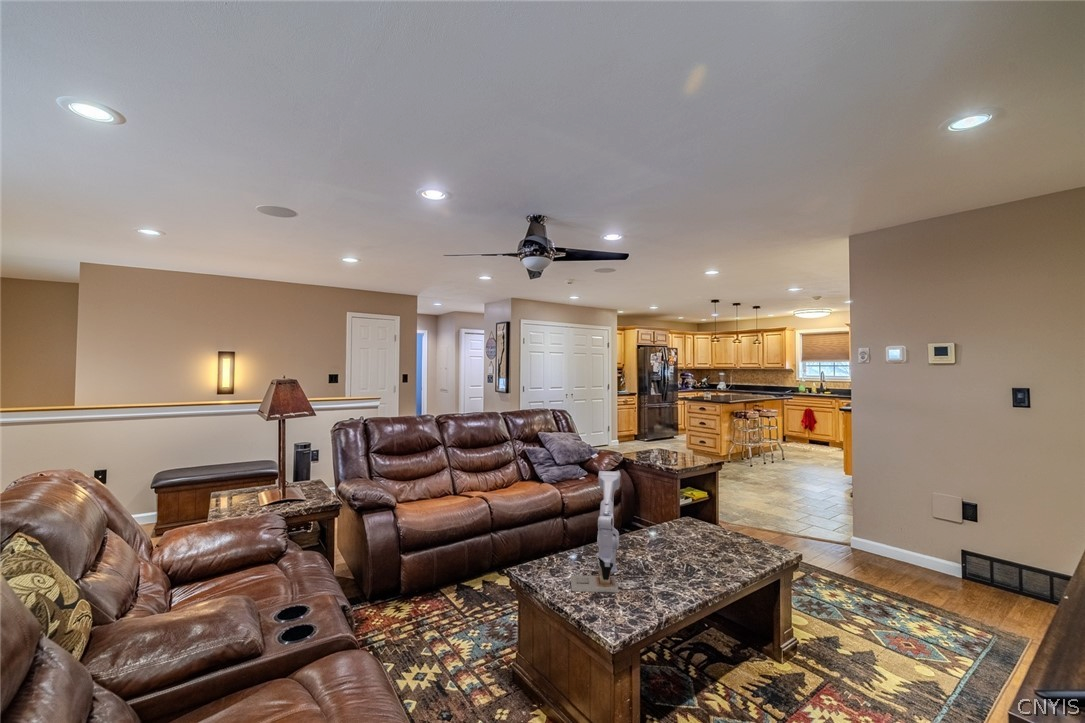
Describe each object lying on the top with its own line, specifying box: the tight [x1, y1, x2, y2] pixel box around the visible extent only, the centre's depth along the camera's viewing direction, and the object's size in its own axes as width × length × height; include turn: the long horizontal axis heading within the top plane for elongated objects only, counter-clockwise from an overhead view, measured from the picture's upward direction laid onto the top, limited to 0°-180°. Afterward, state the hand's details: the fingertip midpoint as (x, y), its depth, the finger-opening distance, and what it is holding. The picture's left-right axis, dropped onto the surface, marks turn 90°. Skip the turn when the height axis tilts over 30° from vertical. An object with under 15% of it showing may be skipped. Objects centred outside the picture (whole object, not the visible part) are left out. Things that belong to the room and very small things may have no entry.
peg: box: [598, 566, 611, 584], centre depth 189 cm, size 4×4×8 cm
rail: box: [570, 574, 619, 593], centre depth 189 cm, size 10×19×2 cm, turn 88°
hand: (605, 576), depth 189 cm, fingers closed on peg, 4 cm apart
